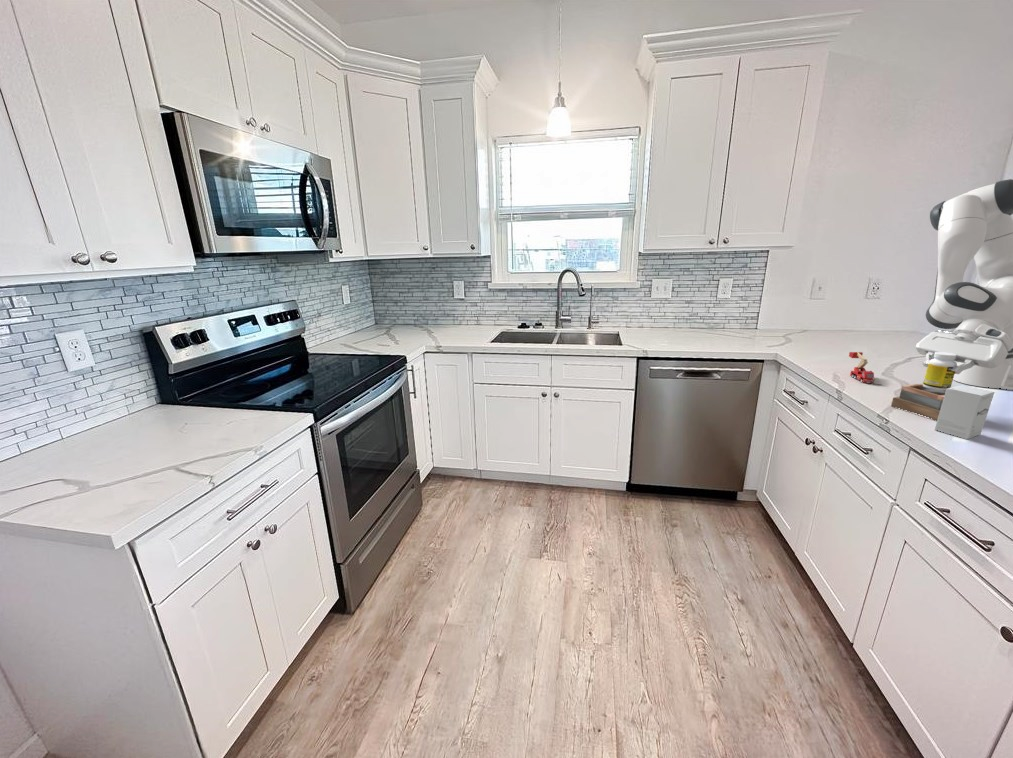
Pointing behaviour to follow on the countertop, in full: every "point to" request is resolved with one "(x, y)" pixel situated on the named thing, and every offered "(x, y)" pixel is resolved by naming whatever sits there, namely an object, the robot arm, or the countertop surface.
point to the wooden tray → (920, 400)
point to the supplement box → (964, 411)
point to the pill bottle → (940, 371)
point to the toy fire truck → (861, 369)
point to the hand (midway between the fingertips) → (939, 369)
